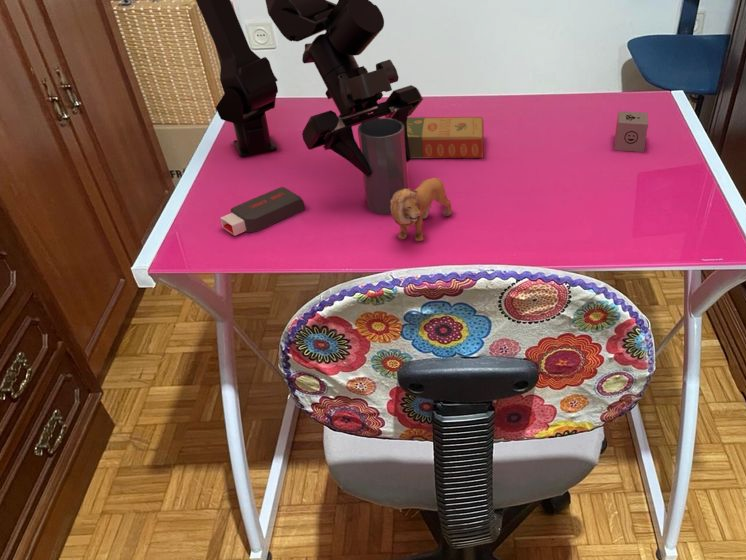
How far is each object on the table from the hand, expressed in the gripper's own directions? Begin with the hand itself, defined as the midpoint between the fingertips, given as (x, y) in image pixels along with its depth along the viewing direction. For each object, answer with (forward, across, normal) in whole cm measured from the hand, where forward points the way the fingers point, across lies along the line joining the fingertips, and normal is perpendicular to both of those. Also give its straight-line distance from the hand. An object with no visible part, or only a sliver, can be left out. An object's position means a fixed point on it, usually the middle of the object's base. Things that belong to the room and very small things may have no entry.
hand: (389, 167), depth 108 cm
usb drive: (-2, -17, +12) cm, 21 cm away
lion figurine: (+11, 0, -1) cm, 11 cm away
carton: (-3, +18, +13) cm, 22 cm away
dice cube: (+12, +45, -2) cm, 46 cm away
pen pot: (+4, 0, +6) cm, 7 cm away
